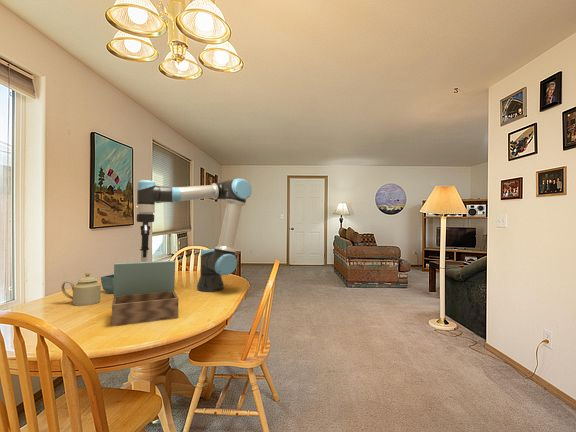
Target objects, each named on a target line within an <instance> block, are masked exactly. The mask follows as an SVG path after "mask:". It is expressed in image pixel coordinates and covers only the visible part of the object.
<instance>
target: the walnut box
mask: <svg viewBox="0 0 576 432" xmlns="http://www.w3.org/2000/svg"><path fill="white" fill-rule="evenodd" d="M178 318H179V296H178V295H177V294H176V292H175V290H174V291H169V292H158V293H146V294H135V295H124V296H114V295H113V298H112V304H111V327H115V326H124V325H132V324H139V323H148V322H156V321H162V320H163V321H164V320H170V319H171V320H172V319H178Z"/></svg>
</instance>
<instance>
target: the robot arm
mask: <svg viewBox="0 0 576 432" xmlns="http://www.w3.org/2000/svg"><path fill="white" fill-rule="evenodd" d="M136 193H137V195H136V198H137V199H136V203H137V204H136V205H135V209H136V213H137V214H136V222H137V223H142V225H140V235H141V247H140V249H139V251H140V253H141V254H140V255H141V257H140V262H149V261H148V260H149V258H148V257H149V256H148V255H149V250H150V247H149V236H150V230H151V226H150V225H149V223H154V222H155V213H156V212H155V211H156V209H155V207H156V205H155V204H161V203H162V204H163V203H179V202H183V201H184V202H185V201H192V200H193V201H196V200H204V199H213V200H224V202H225V203H226V206H225V210H224V216H223V221H222V225H221V229H220V235H219V240H218V245H217V246H215V247H214V248H212V249H202V250H201V251H200V273H199V274H200V276H199V279H198V282H197V285H196V286H197V287H196V290H197V291H199V292H205V293H206V292H210V293H211V292H217V291H221V290H223V289H225V288H224V286H225V284H224V281H223V278H222V276H228V275H231V274H233V272H235V270H236V268H237V267H238V260H237V257H236V250H235V248H234V247H235V242H236V237H237V234H238V229H239V222H240V218H241V213H242V208H243V207H244V206H245V205H246V202H247V199H248V198H249V197H251V195H252V187H251V183H250V182H249V181H248V180H247V179H245V178H239V177H238V178H235V179H228V180H225V181H220V182H215V183H213V182H212V184H209V185H208V184H207V185H205V184H204V185H194V186H193V185H191V186H175V187H174V186H162V185H161V186H160V185H156V182H155V181H154V180H147V179H141V180H138V182H137V187H136Z"/></svg>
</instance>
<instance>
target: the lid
mask: <svg viewBox="0 0 576 432" xmlns="http://www.w3.org/2000/svg"><path fill="white" fill-rule="evenodd" d="M113 274H114V293H113V297H114V296H124V295H135V294H146V293H158V292H169V291H174V292H175V280H176V260H159V261H148V262H141V261H140V262H138V261H137V262H119V263H118V262H116V263H113Z"/></svg>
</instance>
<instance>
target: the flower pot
mask: <svg viewBox="0 0 576 432" xmlns="http://www.w3.org/2000/svg"><path fill="white" fill-rule="evenodd" d="M100 284H101V288H102V290H103V291H104V293H106V294H114V273H113V274H108V275H104V276H100Z"/></svg>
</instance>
